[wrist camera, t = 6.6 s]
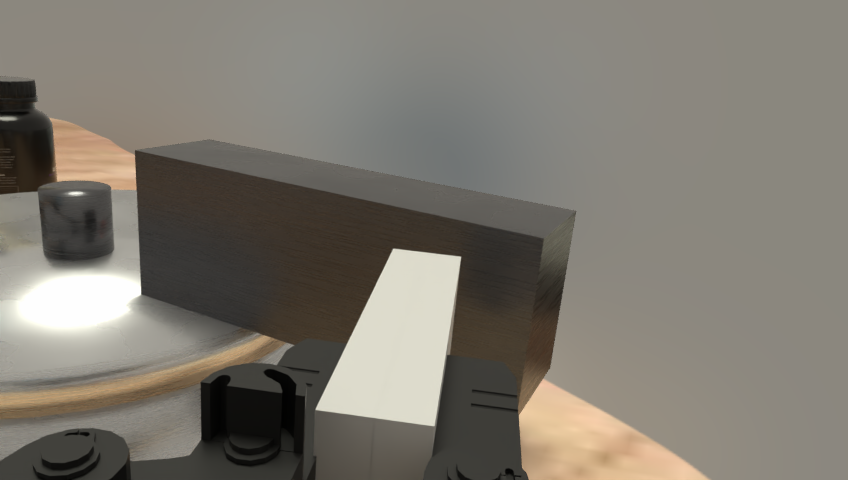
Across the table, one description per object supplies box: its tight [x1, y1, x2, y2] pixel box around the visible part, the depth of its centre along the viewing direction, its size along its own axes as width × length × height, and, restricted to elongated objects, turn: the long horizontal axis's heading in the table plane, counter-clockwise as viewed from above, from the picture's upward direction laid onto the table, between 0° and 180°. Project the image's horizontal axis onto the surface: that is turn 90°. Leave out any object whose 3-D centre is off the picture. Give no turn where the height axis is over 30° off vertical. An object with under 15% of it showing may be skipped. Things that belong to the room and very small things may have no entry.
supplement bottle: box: [0, 76, 57, 195], centre depth 56 cm, size 7×7×12 cm
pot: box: [0, 343, 294, 461], centre depth 27 cm, size 31×18×8 cm, turn 104°
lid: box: [0, 140, 576, 419], centre depth 23 cm, size 30×19×6 cm, turn 64°
